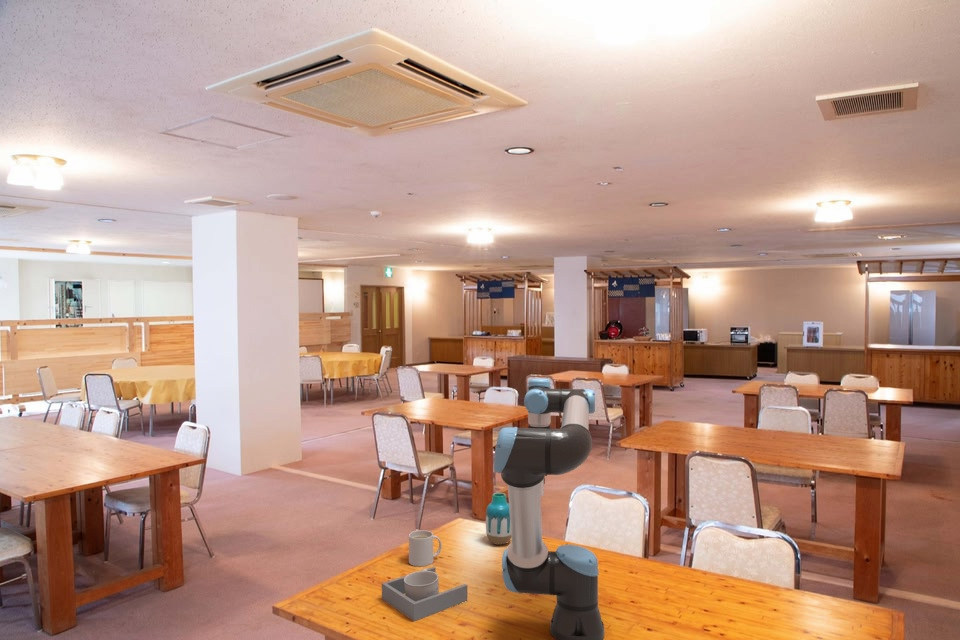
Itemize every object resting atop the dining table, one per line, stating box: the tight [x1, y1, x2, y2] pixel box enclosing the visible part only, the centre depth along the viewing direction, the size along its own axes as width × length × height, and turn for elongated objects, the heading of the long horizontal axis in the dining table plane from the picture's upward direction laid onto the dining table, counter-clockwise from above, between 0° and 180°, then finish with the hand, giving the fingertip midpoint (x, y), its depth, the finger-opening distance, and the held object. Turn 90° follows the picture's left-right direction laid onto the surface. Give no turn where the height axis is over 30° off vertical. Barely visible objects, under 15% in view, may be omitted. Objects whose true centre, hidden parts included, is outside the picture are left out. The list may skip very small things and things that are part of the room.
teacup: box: [404, 568, 440, 602], centre depth 195 cm, size 14×11×8 cm
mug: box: [408, 529, 443, 567], centre depth 225 cm, size 11×10×10 cm
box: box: [381, 566, 468, 622], centre depth 195 cm, size 18×20×5 cm
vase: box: [485, 492, 512, 545], centre depth 243 cm, size 11×11×19 cm
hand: (539, 494), depth 208 cm, fingers closed
